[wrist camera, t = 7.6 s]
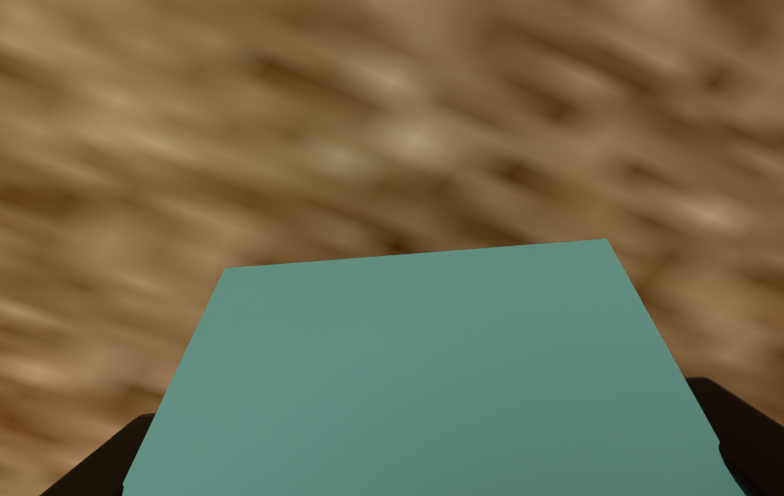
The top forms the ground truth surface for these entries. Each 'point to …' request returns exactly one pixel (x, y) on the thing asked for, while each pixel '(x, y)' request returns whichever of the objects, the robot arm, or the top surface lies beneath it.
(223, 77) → the top surface
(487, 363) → the teal domino
